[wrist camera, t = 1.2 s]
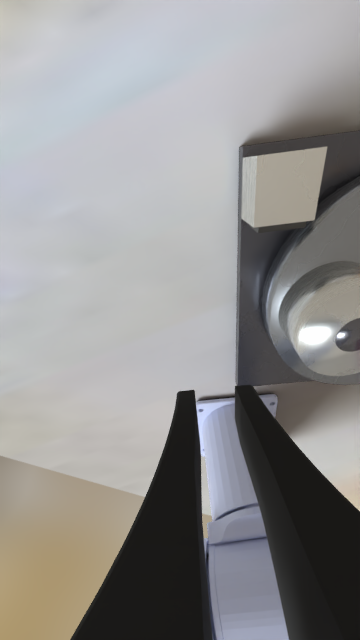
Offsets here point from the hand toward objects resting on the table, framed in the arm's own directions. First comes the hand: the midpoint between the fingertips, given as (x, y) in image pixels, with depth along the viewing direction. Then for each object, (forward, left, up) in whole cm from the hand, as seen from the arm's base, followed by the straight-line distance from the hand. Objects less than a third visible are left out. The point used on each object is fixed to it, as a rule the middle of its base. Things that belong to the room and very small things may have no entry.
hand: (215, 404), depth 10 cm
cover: (0, -8, -6) cm, 10 cm away
